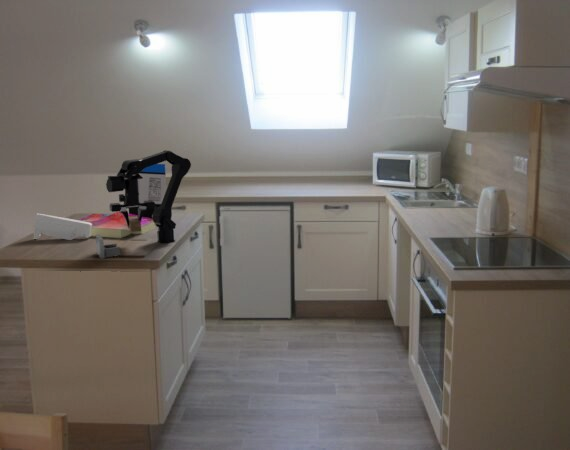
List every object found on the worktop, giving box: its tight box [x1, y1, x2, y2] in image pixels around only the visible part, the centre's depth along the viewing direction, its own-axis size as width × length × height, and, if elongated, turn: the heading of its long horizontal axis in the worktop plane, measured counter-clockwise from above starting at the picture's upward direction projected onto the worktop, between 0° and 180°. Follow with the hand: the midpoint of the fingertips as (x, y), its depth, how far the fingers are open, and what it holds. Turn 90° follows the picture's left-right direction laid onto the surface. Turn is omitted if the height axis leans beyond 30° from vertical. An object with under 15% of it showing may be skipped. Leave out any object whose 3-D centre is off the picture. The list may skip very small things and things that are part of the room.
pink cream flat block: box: [78, 211, 156, 239], centre depth 305 cm, size 38×25×10 cm
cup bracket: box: [94, 234, 121, 260], centre depth 261 cm, size 8×10×8 cm
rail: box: [127, 216, 141, 232], centre depth 273 cm, size 14×4×4 cm, turn 22°
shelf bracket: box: [32, 213, 92, 241], centre depth 289 cm, size 6×25×13 cm, turn 92°
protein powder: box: [128, 163, 167, 219], centre depth 329 cm, size 10×24×30 cm, turn 67°
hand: (133, 225), depth 273 cm, fingers closed on rail, 4 cm apart
